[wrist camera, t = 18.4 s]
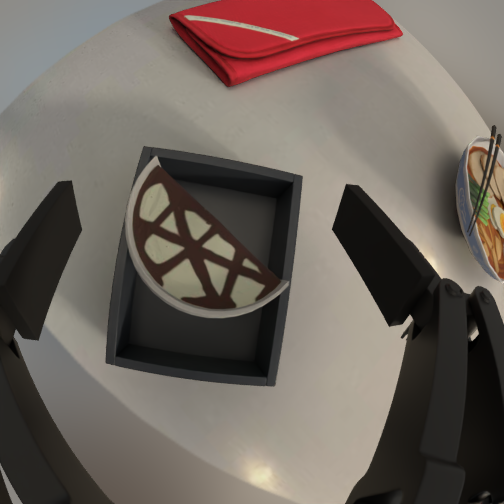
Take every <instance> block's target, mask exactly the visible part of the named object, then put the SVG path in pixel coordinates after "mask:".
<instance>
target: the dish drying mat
mask: <svg viewBox="0 0 504 504" xmlns="http://www.w3.org/2000/svg"><path fill="white" fill-rule="evenodd" d="M169 19H170V22H171V24H172V25H173V27H174V29H175V30H176V31H177V33H178V34H179V35H180V37H181V38H182V39H183V40H184V41H185V42H186V43H187V44H188V45H189V46H190V47H191V48H192V49H193V50H194V51H195V52H196V54H197V55H198V56H199V57H200V58H201V59H202V60H203V61H204V62H205V63H206V64H207V65H208V66H209V67H210V68H211V69H212V70H213V71H214V72H215V73H216V75H217V76H218V77H219V78H220V79H221V80H222V81H223V83H224V84H225V85H226V86H228V87H230V86H233V85H236V84H239V83H242V82H245V81H247V80H249V79H252V78H255V77H258V76H260V75H263V74H266V73H269V72H272V71H275V70H278V69H282V68H285V67H288V66H291V65H294V64H297V63H300V62H303V61H306V60H309V59H313V58H316V57H320V56H323V55H326V54H329V53H333V52H336V51H340V50H344V49H349V48H353V47H357V46H362V45H366V44H371V43H375V42H381V41H385V40H389V39H393V38H397V37H401V36H402V35H403V33H402V31H401V30H400V28H399V27H398V26H397V25H396V24H395V23H394V21H393V19H392V17H391V16H390V15H389V14H388V13H387V12H386V11H384V10H383V9H382V8H381V7H380V6H379V5H377V4H376V3H375V2H374V1H372V0H221V1H216V2H212V3H208V4H204V5H201V6H197V7H194V8H190V9H186V10H183V11H180V12H177V13H175V14H171V15H169Z"/></svg>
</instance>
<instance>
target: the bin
mask: <svg viewBox="0 0 504 504" xmlns="http://www.w3.org/2000/svg"><path fill="white" fill-rule="evenodd" d="M155 156H157V157H158V160H159V163H160V165H161V168H163V169H164V170H165V171H166V172H167V173H168V174H169V175H170V176H171V177H172V178H173V179H174V180H175V181H176V182H177V183H178V184H180V185H181V186H182V187H183V188H184V189H185V190H186V191H187V192H188V193H189V194H190V195H191V196H192V197H193V198H194V199H196V200H197V201H198V202H199V203H200V204H201V205H202V206H203V207H204V208H205V209H206V210H208V211H209V212H210V213H211V214H212V215H213V216H214V217H215V218H217V219H218V220H219V221H220V222H221V223H222V224H223V225H224V226H225V227H226V228H227V229H228V230H229V231H230V232H231V233H232V234H233V235H234V236H235V237H236V238H237V239H238V240H239V241H240V242H241V243H242V244H243V245H244V246H245V247H246V248H247V249H248V250H249V251H250V252H251V253H252V254H253V255H254V256H255V257H256V258H257V259H258V260H259V261H260V262H261V263H262V264H263V265H265V266H266V267H267V268H268V269H269V270H270V271H272V272H273V273H274V274H275V275H276V276H277V277H278V278H279V279H280V280H286V281H289V283H288V284H289V286H288V287H287V288H286V289H285V290H284V291H283V292H281V293H280V294H279V295H278V296H277V297H275V298H274V299H272V300H271V301H270V302H268V303H267V304H265V305H264V306H262V307H260V308H258V309H256V310H254V311H252V312H249V313H246V314H242V315H239V316H234V317H227V318H205V317H200V316H195V315H191V314H188V313H185V312H183V311H180V310H178V309H176V308H174V307H172V306H170V305H169V304H167V303H165V302H164V301H163V300H161V299H160V298H159V297H158V296H157V295H155V294H154V293H153V292H152V291H151V290H150V289H149V287H148V286H147V285H146V284H145V283H144V282H143V280H142V279H141V277H140V275H139V274H138V272H137V270H136V269H135V267H134V264H133V262H132V259H131V257H130V254H129V249H128V245H127V240H126V231H125V219H124V223H123V228H122V233H121V238H120V243H119V248H118V254H117V260H116V266H115V272H114V279H113V286H112V293H111V302H110V310H109V320H108V331H107V345H106V363H107V364H111V365H115V366H119V367H124V368H128V369H133V370H138V371H143V372H148V373H154V374H159V375H165V376H171V377H178V378H185V379H192V380H200V381H208V382H217V383H228V384H239V385H254V386H275V384H276V378H277V372H278V366H279V360H280V354H281V348H282V341H283V335H284V328H285V322H286V315H287V308H288V301H289V293H290V286H291V278H292V271H293V263H294V254H295V246H296V237H297V229H298V219H299V210H300V200H301V190H302V179H303V176H300V175H296V174H293V173H288V172H284V171H280V170H276V169H271V168H267V167H262V166H258V165H253V164H248V163H243V162H239V161H233V160H228V159H223V158H218V157H212V156H206V155H201V154H195V153H188V152H182V151H175V150H168V149H161V148H154V147H153V148H152V147H145V146H144V147H143V150H142V153H141V157H140V160H139V163H138V167H137V171H136V174H135V178H134V182H133V185H132V189H133V186H134V184H135V182H136V180H137V178H138V177H139V175H140V174H141V173H142V171H143V170H144V168H145V167H146V166H147V165H148V163H149V162H150V161H151V160H152V159H153V158H154V157H155ZM132 189H131V191H132ZM125 217H126V214H125Z"/></svg>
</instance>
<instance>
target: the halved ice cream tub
mask: <svg viewBox="0 0 504 504" xmlns="http://www.w3.org/2000/svg"><path fill="white" fill-rule="evenodd" d="M125 231H126V240H127V245H128V249H129V254H130V257H131V259H132V262H133V264H134V267H135V269H136V270H137V272H138V274H139V275H140V277H141V279H142V280H143V282H144V283H145V284H146V285H147V286H148V287H149V289H150V290H151V291H152V292H153V293H154V294H155V295H157V296H158V297H159V298H160V299H161V300H163V301H164V302H165V303H167V304H169V305H170V306H172V307H174V308H176V309H178V310H180V311H183V312H185V313H188V314H191V315H195V316H200V317H205V318H227V317H234V316H239V315H242V314H246V313H249V312H252V311H254V310H256V309H258V308H260V307H262V306H264V305H265V304H267V303H268V302H270V301H271V300H272V299H274V298H275V297H277V296H278V295H279V294H280V293H281V292H283V291H284V290H285V289H286V288H287V287H288V286H289V284H288V283H289V281H286V280H280V279H279V278H278V277H277V276H276V275H275V274H274V273H273V272H272V271H270V270H269V269H268V268H267V267H266V266H265V265H263V264H262V263H261V262H260V261H259V260H258V259H257V258H256V257H255V256H254V255H253V254H252V253H251V252H250V251H249V250H248V249H247V248H246V247H245V246H244V245H243V244H242V243H241V242H240V241H239V240H238V239H237V238H236V237H235V236H234V235H233V234H232V233H231V232H230V231H229V230H228V229H227V228H226V227H225V226H224V225H223V224H222V223H221V222H220V221H219V220H218V219H217V218H215V217H214V216H213V215H212V214H211V213H210V212H209V211H208V210H206V209H205V208H204V207H203V206H202V205H201V204H200V203H199V202H198V201H197V200H196V199H194V198H193V197H192V196H191V195H190V194H189V193H188V192H187V191H186V190H185V189H184V188H183V187H182V186H181V185H180V184H178V183H177V182H176V181H175V180H174V179H173V178H172V177H171V176H170V175H169V174H168V173H167V172H166V171H165V170H164V169H163V168H161V165H160V163H159V160H158V157H157V156H155V157H154V158H153V159H152V160H151V161H150V162H149V163H148V165H147V166H146V167H145V168H144V170H143V171H142V173H141V174H140V175H139V177H138V178H137V180H136V182H135V184H134V186H133V189H132V191H131V193H130V197H129V200H128V204H127V209H126V217H125Z"/></svg>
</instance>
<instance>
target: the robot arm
mask: <svg viewBox="0 0 504 504" xmlns="http://www.w3.org/2000/svg"><path fill="white" fill-rule="evenodd" d="M332 230H333V232H334V233H335V235H336V236H337V238H338V240H339V241H340V243H341V244H342V246H343V248H344V249H345V251H346V252H347V254H348V256H349V257H350V259H351V261H352V262H353V264H354V266H355V267H356V269H357V271H358V272H359V274H360V276H361V277H362V279H363V281H364V282H365V284H366V286H367V288H368V289H369V291H370V293H371V295H372V296H373V298H374V300H375V302H376V304H377V305H378V307H379V309H380V311H381V313H382V314H383V316H384V318H385V320H386V322H387V324H388V326H389V327H390V326H395V325H400V324H403V323H404V322H405V320H406V319H407V317H408V316H409V315H411V316H412V318H413V321H412V322H411V324H410V325H409V326H408V328H407V329H406V330H405V332H404V333H403V334H402V336H401V338H402V339H403V338H404V337H405V335H407V334H408V337H407V339H406V340H407V342H406V347H405V352H404V357H403V361H402V366H401V370H400V374H399V378H398V382H397V386H396V390H395V393H394V397H393V401H392V404H391V407H390V411H389V414H388V417H387V420H386V423H385V426H384V429H383V432H382V435H381V438H380V441H379V443H378V446H377V449H376V451H375V454H374V457H373V459H372V462H371V464H370V466H369V469H368V471H367V472H366V474H365V475H364V476H363V477H362V478H361V479H360V480H359V481H358V482H357V484H356V485H355V486H354V488H353V490H352V491H351V493H350V495H349V497H348V499H347V501H346V503H345V504H504V324H503V321H502V318H501V315H500V312H499V310H498V307H497V305H496V302H495V300H494V298H493V296H492V295H491V293H490V292H489V291H488V290H487V289H486V288H483V287H481V286H477V287H475V289H474V290H473V292H472V293H471V294H466V293H464V292H463V290H462V289H461V287H460V286H459V285H458V284H457V283H455V282H454V281H452V280H450V279H447V278H443V279H441V278H440V276H439V275H438V274H437V272H436V271H435V270H434V268H433V267H432V266H431V265H430V263H429V262H428V261H427V260H426V258H425V259H424V256H423V255H422V253H421V252H419V250H418V248H417V247H416V246H415V245H414V244H413V243H412V242H411V241H410V240H409V239H407V238H406V237H405V236H404V235H403V233H402V232H401V231H400V230H399V229H398V228H397V226H396V225H395V224H394V223H393V222H392V221H391V220H390V218H389V217H388V216H387V215H386V214H385V213H384V212H383V211H382V210H381V209H380V207H379V206H378V205H377V204H376V203H375V202H374V201H373V200H372V199H371V198H370V197H369V196H368V195H367V194H366V193H365V192H364V191H363V190H362V188H361V187H360V186H359V185H350V184H346V186H345V189H344V192H343V196H342V199H341V202H340V205H339V209H338V212H337V215H336V218H335V221H334V224H333V227H332ZM81 231H82V227H81V223H80V219H79V215H78V210H77V205H76V200H75V195H74V190H73V185H72V181H61V182H58V183H57V184H56V185H55V186H54V187H53V189H52V190H51V191H50V192H49V194H48V195H47V196H46V197H45V199H44V200H43V201H42V202H41V204H40V205H39V206H38V208H37V209H36V210H35V212H34V213H33V214H32V216H31V217H30V218H29V220H28V221H27V222H26V224H25V225H24V227H23V228H22V230H21V231H20V233H19V234H18V235H17V237H16V238H15V239H13V240H12V241H11V242H10V243H8V244H7V245H6V246H5V248H4V249H3V251H2V252H1V254H0V463H1V466H2V468H3V470H4V472H5V474H6V475H7V477H8V479H9V481H10V483H11V485H12V487H13V488H14V490H15V492H16V494H17V495H18V497H19V498H20V500H21V502H22V503H23V504H114V503H113V502H112V501H111V500H110V499H109V498H108V497H107V496H106V495H105V494H104V493H103V491H102V490H101V489H100V488H99V486H98V485H97V484H96V483H95V481H94V480H93V479H92V478H91V476H90V475H89V474H88V473H87V471H86V470H85V468H84V467H83V466H82V464H81V463H80V461H79V460H78V459H77V457H76V456H75V454H74V453H73V451H72V450H71V448H70V447H69V445H68V444H67V442H66V441H65V439H64V438H63V436H62V434H61V433H60V431H59V429H58V428H57V426H56V424H55V423H54V421H53V419H52V417H51V415H50V414H49V412H48V410H47V408H46V406H45V404H44V402H43V400H42V399H41V397H40V395H39V392H38V390H37V388H36V387H35V384H34V382H33V380H32V378H31V376H30V373H29V371H28V369H27V366H26V364H25V361H24V359H23V356H22V354H21V351H20V348H19V346H18V343H17V341H16V340H15V338H14V337H13V336H14V333H15V330H16V329H17V331H18V332H19V334H20V335H21V336H22V338H24V339H31V340H39V337H40V334H41V331H42V327H43V324H44V321H45V318H46V315H47V312H48V309H49V307H50V304H51V301H52V298H53V296H54V293H55V290H56V288H57V285H58V283H59V280H60V278H61V275H62V273H63V270H64V268H65V266H66V263H67V261H68V259H69V257H70V254H71V252H72V250H73V248H74V246H75V244H76V241H77V239H78V237H79V235H80V233H81ZM477 328H478V332H479V335H478V336H477V337H476V338H475V339H474V340H473V341H471V337H470V336H471V335H472V334H473V333H474V332H475V331H476V329H477ZM0 504H13V503H12V501H11V499H10V496H9V493H8V491H7V488H6V485H5V482H4V479H3V476H2V473H1V470H0Z"/></svg>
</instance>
